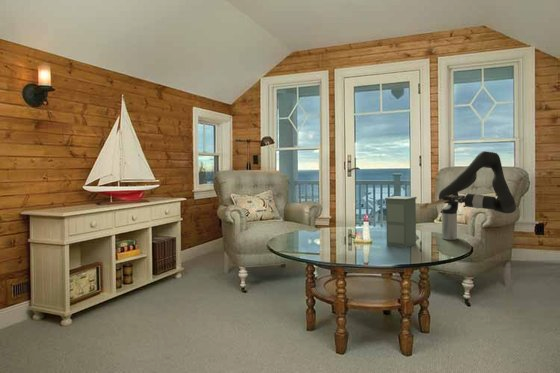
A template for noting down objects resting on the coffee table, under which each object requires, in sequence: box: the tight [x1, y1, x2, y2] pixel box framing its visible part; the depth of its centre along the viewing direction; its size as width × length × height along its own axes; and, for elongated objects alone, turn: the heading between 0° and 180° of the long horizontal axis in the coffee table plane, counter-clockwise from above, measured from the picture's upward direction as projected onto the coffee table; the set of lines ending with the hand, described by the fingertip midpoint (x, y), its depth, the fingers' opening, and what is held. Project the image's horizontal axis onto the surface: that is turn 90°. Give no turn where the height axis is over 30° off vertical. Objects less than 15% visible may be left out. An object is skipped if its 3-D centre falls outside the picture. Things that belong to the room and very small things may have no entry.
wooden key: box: [419, 194, 454, 212], centre depth 245 cm, size 5×20×4 cm, turn 50°
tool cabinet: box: [384, 195, 417, 249], centre depth 261 cm, size 15×14×30 cm
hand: (444, 197), depth 242 cm, fingers closed on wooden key, 3 cm apart
